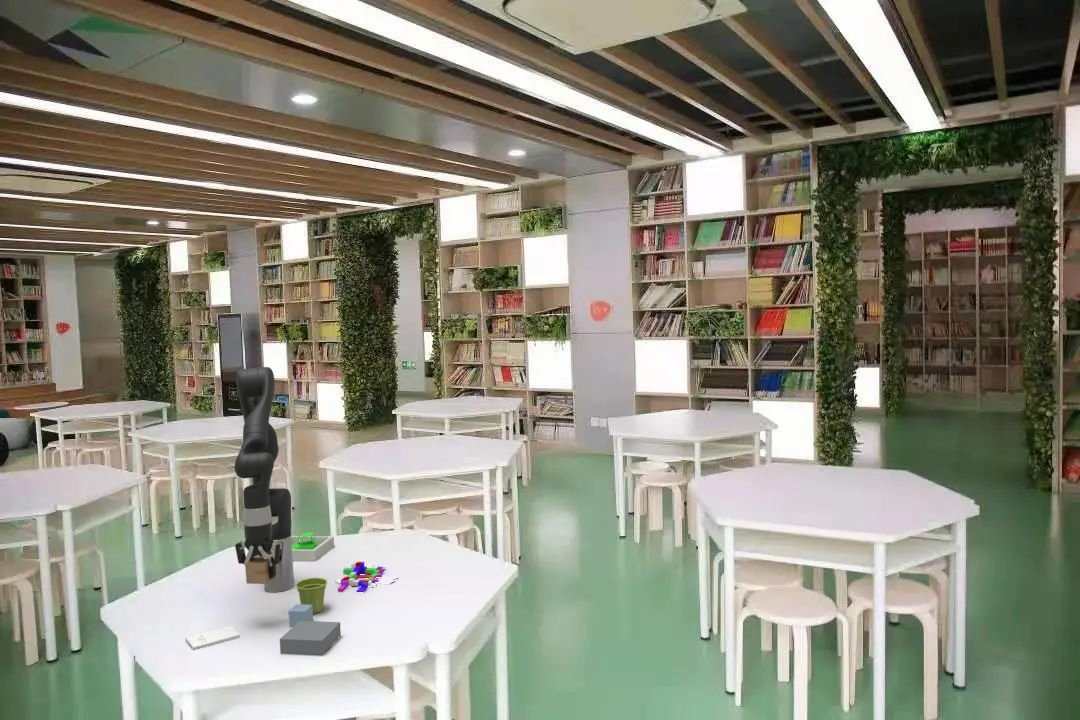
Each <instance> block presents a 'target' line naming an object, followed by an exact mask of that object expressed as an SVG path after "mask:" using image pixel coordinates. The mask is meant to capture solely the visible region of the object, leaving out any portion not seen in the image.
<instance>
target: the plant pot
mask: <svg viewBox="0 0 1080 720" xmlns="http://www.w3.org/2000/svg"><path fill="white" fill-rule="evenodd" d="M327 584H328V579H325V578H323V577H309V578H305V579H301V580H299V581H297V582H296V583H295V588H297V592H298V597H299V601H300V604H302V605H312V606H313V615H314V614H317V613H319V612H322V611H323V609H324V601H325V593H326V592H325V591H326V587H327Z"/></svg>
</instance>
